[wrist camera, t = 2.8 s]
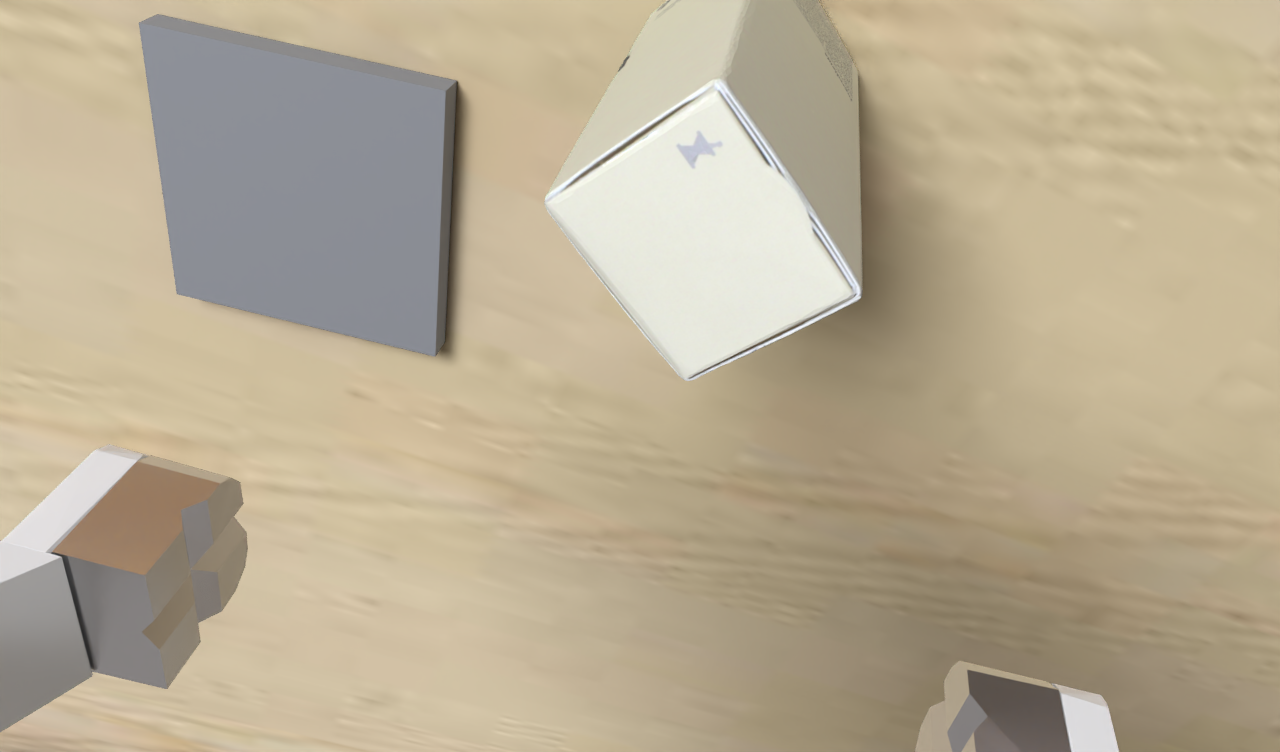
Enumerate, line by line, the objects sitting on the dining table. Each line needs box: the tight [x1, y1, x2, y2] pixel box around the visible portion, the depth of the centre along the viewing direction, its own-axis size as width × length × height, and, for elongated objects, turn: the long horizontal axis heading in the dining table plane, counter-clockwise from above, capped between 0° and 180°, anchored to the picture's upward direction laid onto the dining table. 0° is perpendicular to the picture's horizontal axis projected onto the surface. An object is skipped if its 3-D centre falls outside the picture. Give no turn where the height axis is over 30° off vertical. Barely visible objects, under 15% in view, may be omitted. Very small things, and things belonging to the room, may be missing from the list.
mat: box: [139, 14, 457, 356], centre depth 34 cm, size 10×10×1 cm
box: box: [545, 0, 863, 381], centre depth 24 cm, size 5×4×13 cm
